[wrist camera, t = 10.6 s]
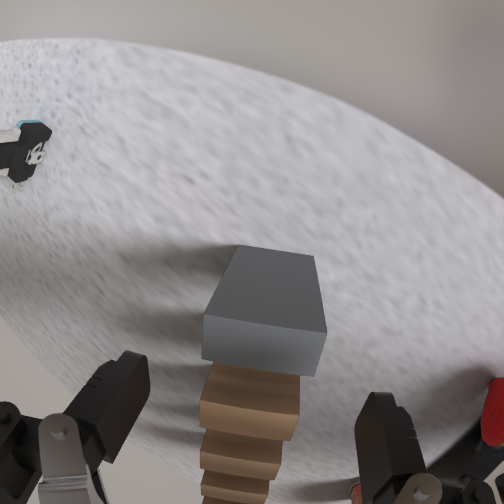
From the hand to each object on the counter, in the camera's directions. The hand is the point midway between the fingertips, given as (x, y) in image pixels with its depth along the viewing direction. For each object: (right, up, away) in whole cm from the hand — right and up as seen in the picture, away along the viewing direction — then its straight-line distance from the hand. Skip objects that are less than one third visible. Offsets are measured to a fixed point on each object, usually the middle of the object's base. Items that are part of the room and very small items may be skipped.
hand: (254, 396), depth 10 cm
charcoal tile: (+1, +4, +11) cm, 12 cm away
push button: (-19, +13, +10) cm, 25 cm away
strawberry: (+25, -8, +12) cm, 29 cm away
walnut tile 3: (0, -6, +15) cm, 16 cm away
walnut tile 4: (+1, -1, +13) cm, 13 cm away
